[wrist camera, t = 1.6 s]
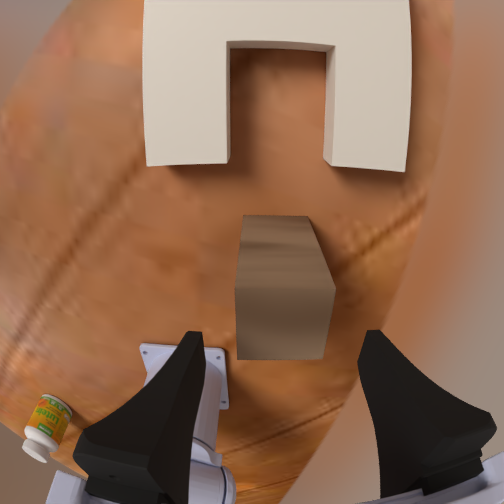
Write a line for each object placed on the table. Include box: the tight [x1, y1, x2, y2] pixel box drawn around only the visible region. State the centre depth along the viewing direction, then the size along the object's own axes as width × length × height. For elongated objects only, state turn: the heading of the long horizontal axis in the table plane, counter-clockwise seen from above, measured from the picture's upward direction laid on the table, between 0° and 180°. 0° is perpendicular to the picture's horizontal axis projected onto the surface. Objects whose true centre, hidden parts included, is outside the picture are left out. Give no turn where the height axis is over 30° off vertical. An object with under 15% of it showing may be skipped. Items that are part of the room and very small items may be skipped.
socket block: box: [143, 0, 412, 172], centre depth 15 cm, size 15×16×2 cm
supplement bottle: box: [22, 394, 72, 463], centre depth 30 cm, size 5×5×10 cm
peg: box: [235, 215, 336, 360], centre depth 18 cm, size 4×4×9 cm
